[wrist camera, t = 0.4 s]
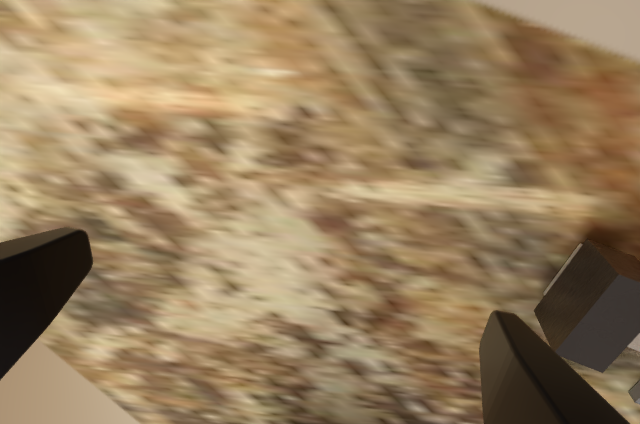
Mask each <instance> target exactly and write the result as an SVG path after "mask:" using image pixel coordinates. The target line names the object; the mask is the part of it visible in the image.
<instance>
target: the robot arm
mask: <svg viewBox="0 0 640 424" xmlns="http://www.w3.org/2000/svg"><path fill="white" fill-rule="evenodd" d="M92 265H93V257H92V252H91V247H90V242H89V237H88V234H87V233H86V231H84V230H82V229H77V228H72V227H63V228H59V229H55V230H51V231H47V232H42V233H38V234H34V235H30V236H26V237H22V238H18V239H13V240H9V241H5V242H1V243H0V380H1V379H2V378H3V376H4V375H5V374H6V373H7V372H8V371H9V370H10V369H11V368H12V366H13V365H14V364H15V363H16V362H17V361H18V360H19V358H21V356H22V355H23V354H24V353H25V352H26V351H27V350H28V349H29V347H30V346H31V345H32V344H33V343H34V342H35V341H36V340H37V339H38V337H39V336H40V335H41V334H42V333H43V332H44V331H45V329H46V328H47V327H48V326H49V325H50V324H51V322H52V321H53V320H54V318H55V317H56V316H57V315H58V313H59V312H60V311H61V309H62V308H63V307H64V305H65V304H66V302H67V301H68V300H69V298H70V297H71V296H72V294H73V293H74V292H75V290H76V289H77V288H78V286H79V285H80V284H81V282H82V281H83V280H84V278H85V277H86V276H87V274H88V273H89V271H90V270H91V268H92ZM479 355H480V372H481V389H482V407H483V421H484V424H630V423H629V422H628V421H627V420H626V419H625V418H624V417H623V416H622V415H620V414H619V413H618V412H617V411H616V410H615V409H614V408H613V407H612V406H611V405H610V404H609V403H608V402H607V401H606V400H605V399H604V398H603V397H602V396H601V395H600V394H599V393H597V392H596V391H595V390H594V389H593V388H592V387H591V386H590V385H589V384H588V383H587V382H586V381H585V380H584V379H583V378H582V377H581V376H580V375H579V374H578V373H577V372H576V371H574V370H573V369H572V368H571V367H570V366H569V365H568V364H567V363H566V362H565V361H564V360H563V359H562V358H561V357H560V356H559V355H558V354H557V353H556V352H555V351H554V350H553V349H551V348H550V347H549V346H548V345H547V344H546V343H545V342H544V341H543V340H542V339H541V338H540V337H539V336H538V335H537V334H536V333H535V332H534V331H533V330H532V329H531V328H530V327H529V326H527V325H526V324H525V323H524V322H523V321H522V320H521V319H520V318H519V317H518V316H517V315H516V314H513V313H509V312H503V311H498V310H495V311H493V312H492V313H491V314H490V317H489V319H488V322H487V325H486V327H485V330H484V333H483V336H482V338H481V342H480V348H479Z"/></svg>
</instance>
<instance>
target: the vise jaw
mask: <svg viewBox="0 0 640 424" xmlns="http://www.w3.org/2000/svg"><path fill="white" fill-rule="evenodd" d="M534 312H535V314H536V316H537V319H538V321H539V323H540V325H541V327H542V329H543V332H544V334H545V336H546V338H547V340H548V342H549V345H550V347H551V349H553V350H554V351H555V352H556V353H557V354H558V355H559V356H561V357H564V358H566V359H569V360H571V361H574V362H576V363H579V364H582V365H584V366H587V367H589V368H592V369H594V370H597V371H599V372H602V373H603V372H604V371H605V370H606V369H607V368H608V367H609V365H610V364H611V363H612V362H613V361H614V360H615V359H616V358H617V357H618V356H619V355H620V354H621V353H622V351H623V350H624V349H625V348H626V347H629V348H632V349H634V350H637V351H639V352H640V262H639V261H638V260H637V259H636V258H635V257H634V256H632V255H629V254H626V253H624V252H621V251H618V250H616V249H613V248H611V247H608V246H605V245H603V244H600V243H597V242H595V241H592V240H590V239H586V241H585V242H584V243H583V245H582V246H581V247H580V249H579V250H578V252H577V253H576V254H575V256H574V257H573V258H572V260H571V261H570V262H569V264H568V265H567V266H566V268H565V269H564V270H563V272H562V273H561V274H560V276H559V277H558V278H557V280H556V281H555V283H554V284H553V285H552V287H551V288H550V289H549V291H548V292H547V293H546V295H545V296H544V297H543V299H542V300H541V301H540V303H539V304H538V305H537V307H536V308H535V309H534Z"/></svg>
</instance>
